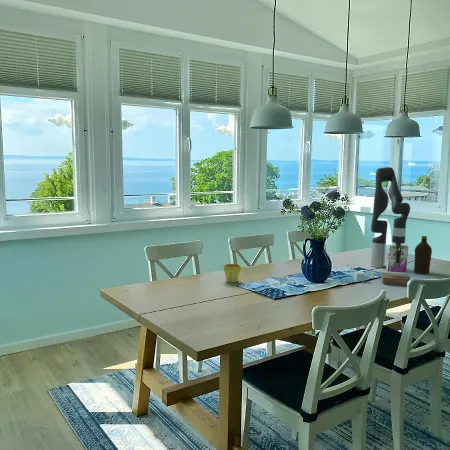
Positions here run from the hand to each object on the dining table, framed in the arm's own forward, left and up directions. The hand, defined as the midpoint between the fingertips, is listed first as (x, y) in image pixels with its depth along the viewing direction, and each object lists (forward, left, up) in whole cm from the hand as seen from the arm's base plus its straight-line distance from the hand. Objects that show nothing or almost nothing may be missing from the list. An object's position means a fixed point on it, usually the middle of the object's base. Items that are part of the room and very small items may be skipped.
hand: (397, 261), depth 288 cm
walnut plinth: (0, 0, -13) cm, 13 cm away
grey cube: (+2, -22, -13) cm, 26 cm away
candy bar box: (0, 0, -6) cm, 6 cm away
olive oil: (-33, +20, -13) cm, 41 cm away
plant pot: (+28, -98, -13) cm, 103 cm away
